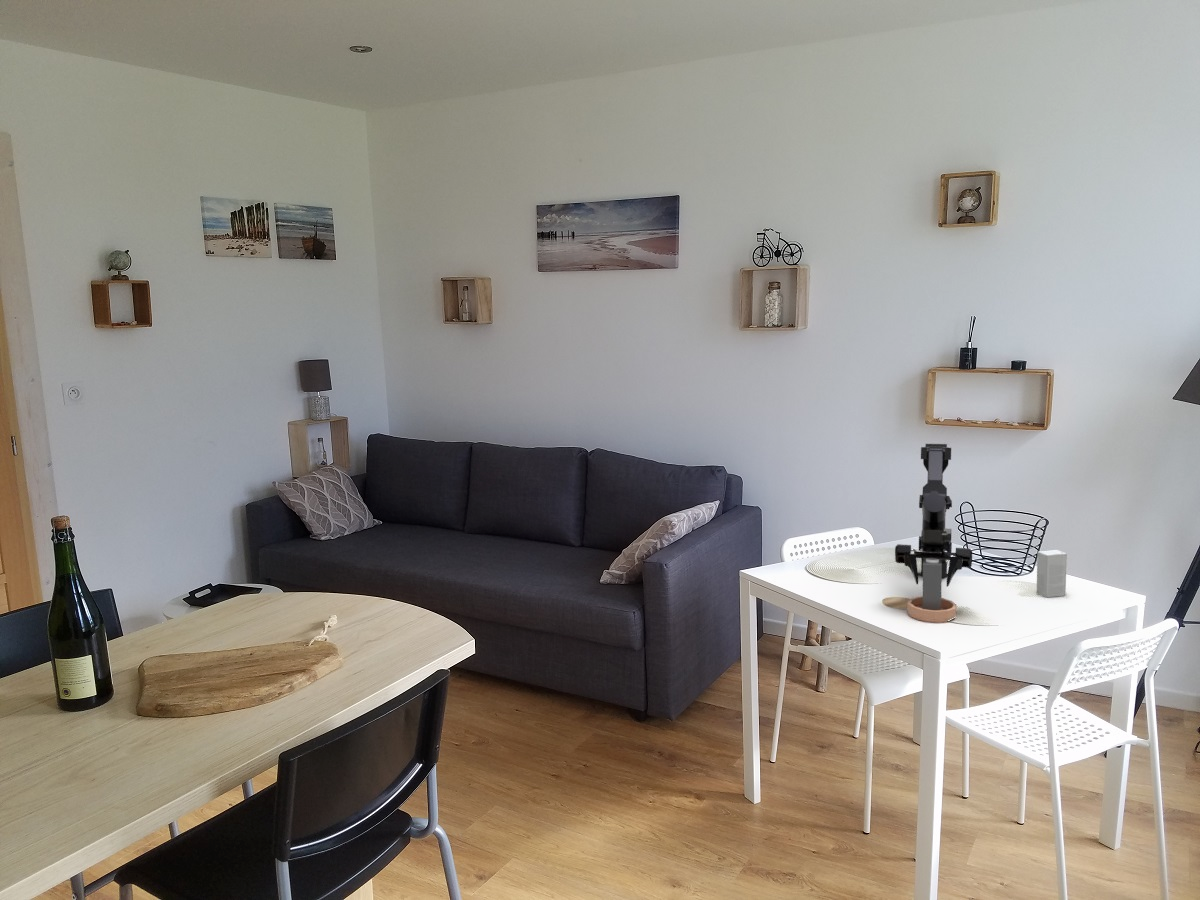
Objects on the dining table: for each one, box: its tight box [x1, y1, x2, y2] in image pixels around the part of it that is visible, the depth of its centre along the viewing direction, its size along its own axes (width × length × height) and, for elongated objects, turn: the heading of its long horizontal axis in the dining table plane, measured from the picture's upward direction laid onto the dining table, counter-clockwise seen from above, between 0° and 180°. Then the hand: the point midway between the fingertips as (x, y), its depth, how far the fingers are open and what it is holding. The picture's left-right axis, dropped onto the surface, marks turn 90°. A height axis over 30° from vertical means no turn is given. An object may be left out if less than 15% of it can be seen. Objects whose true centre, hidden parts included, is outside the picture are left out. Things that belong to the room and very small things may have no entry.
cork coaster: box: [881, 596, 910, 610], centre depth 232 cm, size 9×9×1 cm
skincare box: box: [1036, 549, 1068, 599], centre depth 233 cm, size 6×4×12 cm
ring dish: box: [906, 596, 958, 624], centre depth 222 cm, size 12×12×3 cm
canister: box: [921, 558, 943, 610], centre depth 221 cm, size 4×4×14 cm
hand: (932, 584), depth 220 cm, fingers open, 7 cm apart
